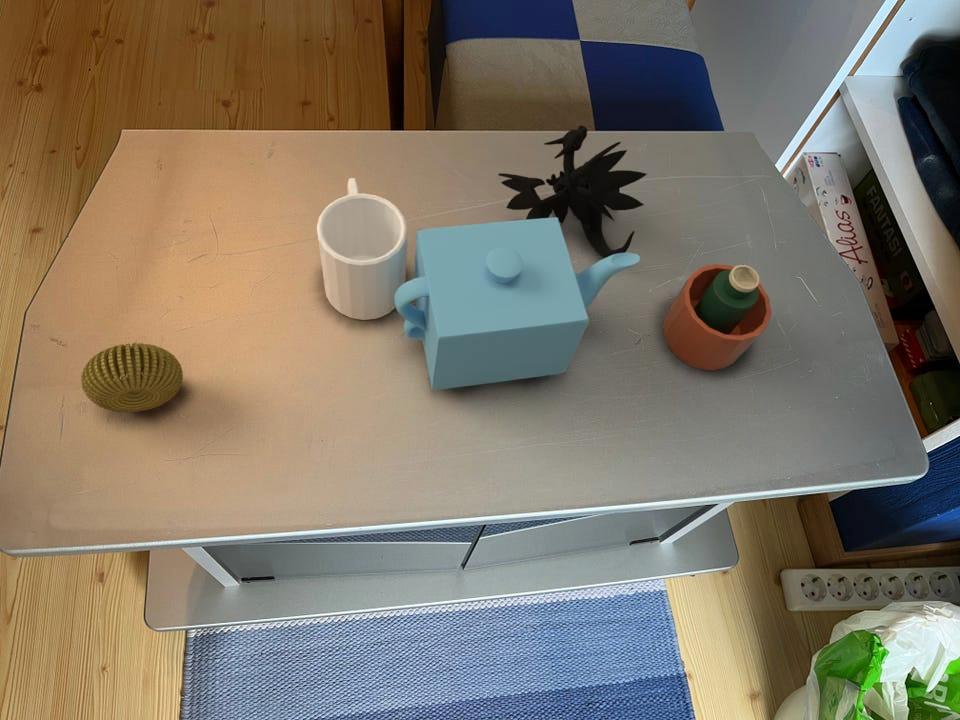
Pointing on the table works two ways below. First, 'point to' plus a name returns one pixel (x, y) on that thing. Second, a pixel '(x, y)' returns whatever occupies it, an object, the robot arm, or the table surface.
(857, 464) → the table surface
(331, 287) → the mug
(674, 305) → the cup
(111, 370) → the sculpture
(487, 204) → the table surface
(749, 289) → the bottle
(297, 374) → the table surface
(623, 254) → the teapot
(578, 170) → the figurine
